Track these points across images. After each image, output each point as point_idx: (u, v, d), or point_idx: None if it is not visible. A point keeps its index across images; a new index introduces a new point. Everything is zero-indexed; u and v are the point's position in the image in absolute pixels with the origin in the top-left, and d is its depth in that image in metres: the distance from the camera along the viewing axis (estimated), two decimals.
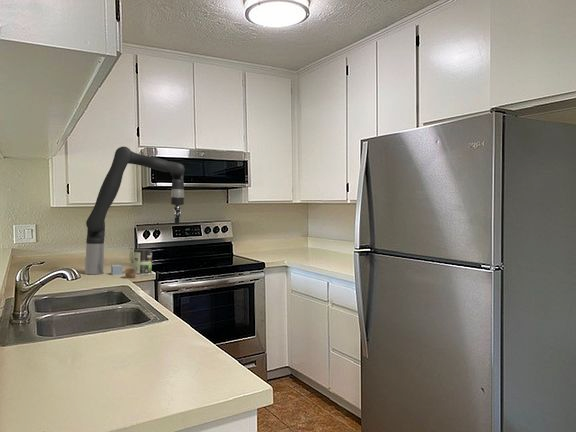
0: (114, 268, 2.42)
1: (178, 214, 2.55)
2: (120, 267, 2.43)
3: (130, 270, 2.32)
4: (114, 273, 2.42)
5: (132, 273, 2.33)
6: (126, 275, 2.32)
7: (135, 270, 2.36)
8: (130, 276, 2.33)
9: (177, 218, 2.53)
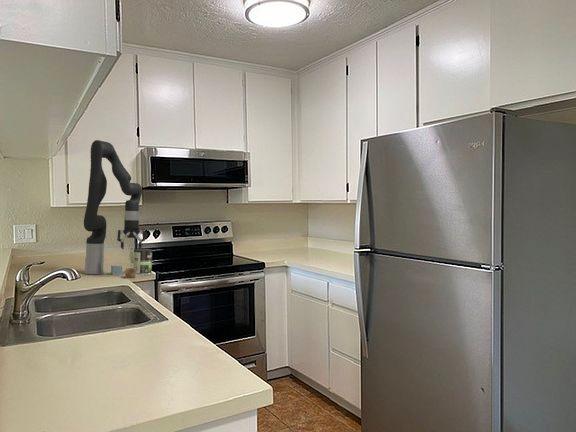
0: (114, 268, 2.42)
1: (138, 238, 2.36)
2: (120, 267, 2.43)
3: (130, 270, 2.32)
4: (114, 273, 2.42)
5: (132, 273, 2.33)
6: (126, 275, 2.32)
7: (135, 270, 2.36)
8: (130, 276, 2.33)
9: (141, 242, 2.36)
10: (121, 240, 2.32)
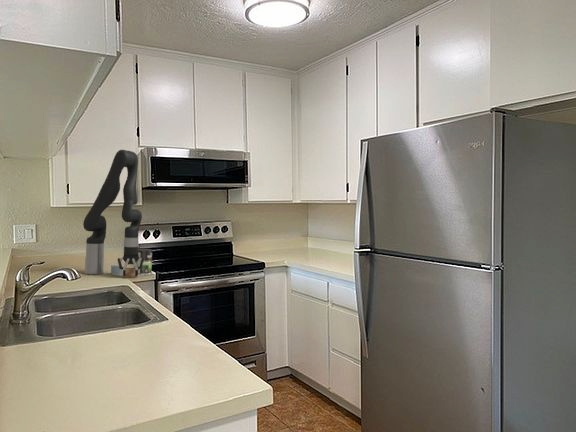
0: (114, 268, 2.42)
1: (135, 265, 2.36)
2: None
3: (130, 270, 2.32)
4: (114, 273, 2.42)
5: (132, 273, 2.33)
6: (126, 275, 2.32)
7: None
8: (130, 276, 2.33)
9: None
10: (123, 268, 2.33)
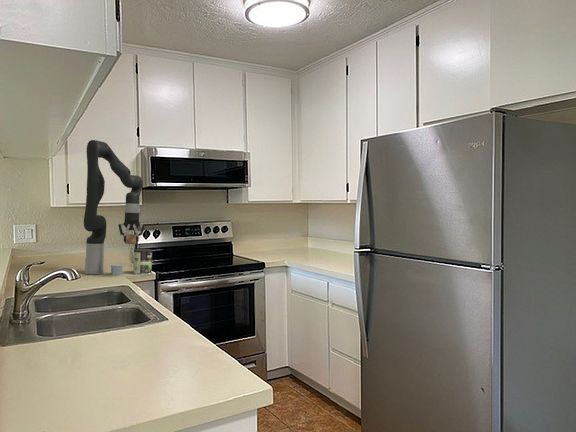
0: (114, 268, 2.42)
1: None
2: (120, 267, 2.43)
3: (131, 236, 2.32)
4: (114, 273, 2.42)
5: (133, 239, 2.33)
6: (127, 241, 2.32)
7: None
8: (131, 242, 2.32)
9: (138, 236, 2.36)
10: (124, 234, 2.32)
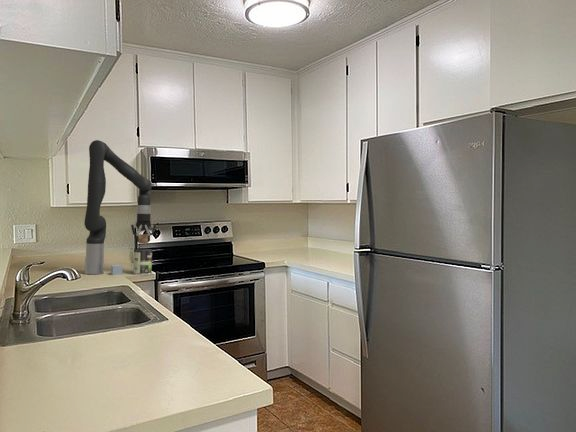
0: (114, 268, 2.42)
1: None
2: (120, 267, 2.44)
3: (143, 235, 2.46)
4: (114, 273, 2.42)
5: (145, 239, 2.47)
6: (139, 240, 2.46)
7: None
8: (143, 241, 2.46)
9: None
10: (136, 234, 2.46)
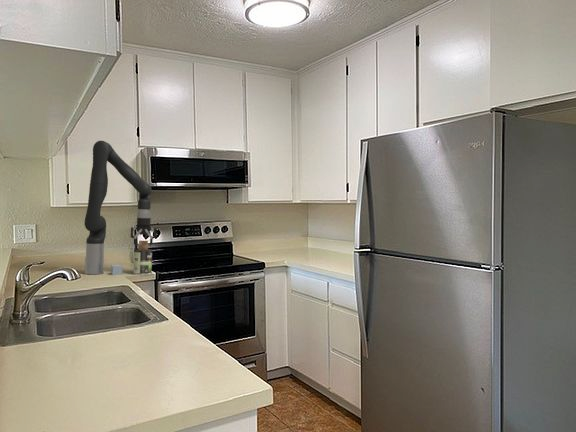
0: (114, 268, 2.42)
1: (149, 235, 2.50)
2: (120, 267, 2.44)
3: (143, 242, 2.46)
4: (114, 273, 2.42)
5: (145, 245, 2.47)
6: (139, 247, 2.46)
7: None
8: (143, 248, 2.47)
9: (152, 239, 2.50)
10: (134, 237, 2.46)
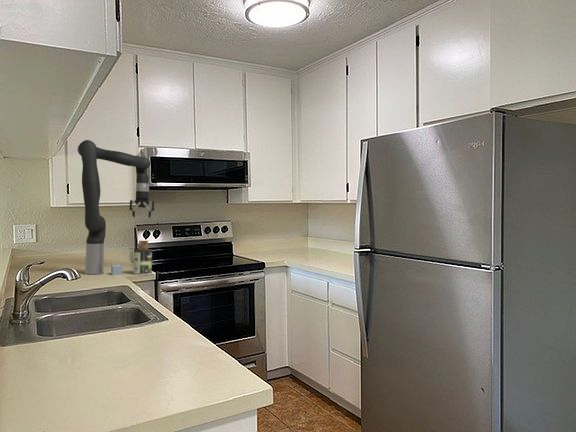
0: (114, 268, 2.42)
1: None
2: (120, 267, 2.43)
3: (143, 242, 2.46)
4: (114, 273, 2.42)
5: (145, 245, 2.47)
6: (139, 247, 2.46)
7: None
8: (143, 248, 2.47)
9: None
10: (133, 209, 2.58)
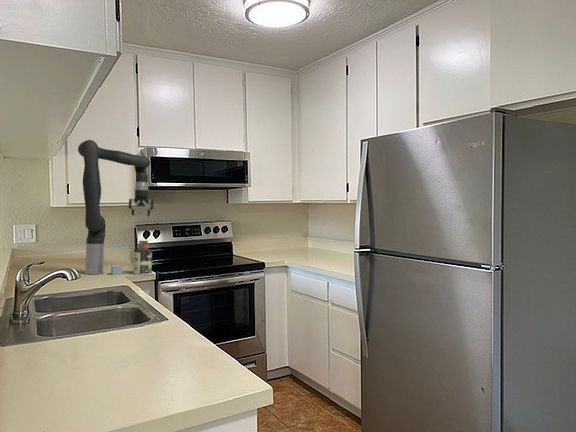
0: (114, 268, 2.42)
1: (146, 206, 2.65)
2: (120, 267, 2.43)
3: (143, 242, 2.46)
4: (114, 273, 2.42)
5: (145, 245, 2.47)
6: (139, 247, 2.46)
7: None
8: (143, 248, 2.47)
9: None
10: (132, 208, 2.60)
